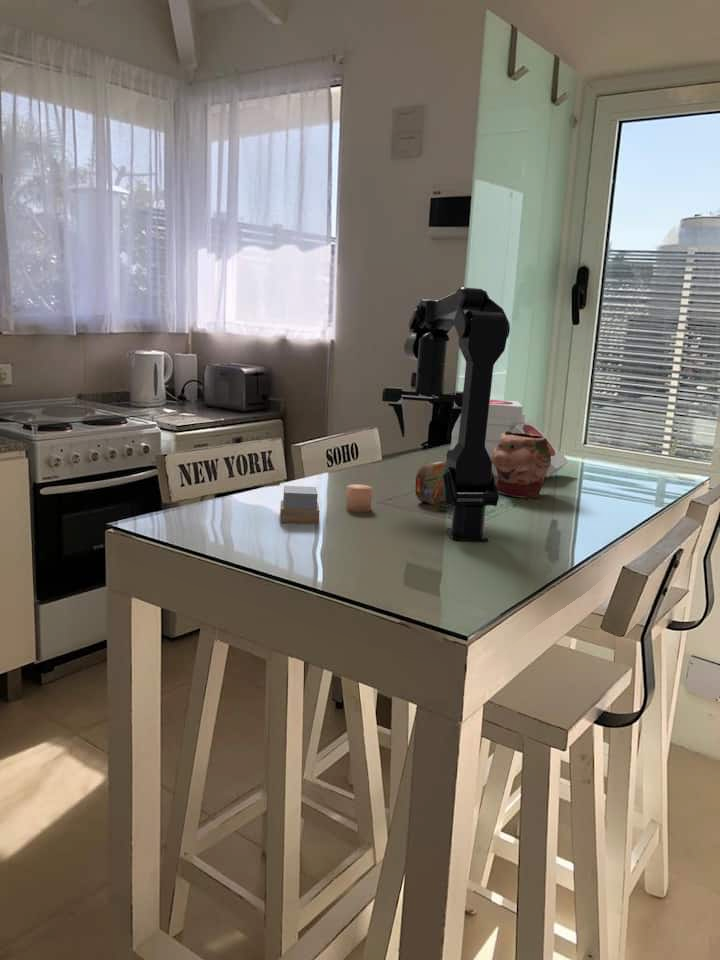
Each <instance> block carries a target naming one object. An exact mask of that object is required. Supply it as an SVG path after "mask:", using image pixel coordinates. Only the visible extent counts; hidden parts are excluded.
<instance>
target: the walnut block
mask: <svg viewBox="0 0 720 960" xmlns="http://www.w3.org/2000/svg"><path fill="white" fill-rule="evenodd" d="M279 512H280V513H279V517H280V518H279V519H280V520H279V522H281V523H280V524H285V523H297V524H296V525H312V524H316V525H317V526H319V525H320V506H319V502H318V501H317V510H302V509H284V505H283V500H282V499H281V500H280V511H279ZM302 523H303V524H302Z"/></svg>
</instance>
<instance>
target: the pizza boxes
mask: <svg viewBox="0 0 720 960" xmlns="http://www.w3.org/2000/svg"><path fill="white" fill-rule="evenodd" d="M523 408H524V406H523V405H522V404H521V403H520V402H519V401H517V400H514V401H513V400H503V399H502V400H501V399H491V398H490V403H489V412H488V422H487V431H486V440H485V448H486V450H487V452H488V454H489V456H490V458H491V461H492V457H491V455H492V451H493V449H494V448H495V447H496V446H497V445H498V444H499V442H500V436H501V434H503V433H505V432H507V431H509V432H512V433H523V434H531V435H539V436H543V437H545V438H546V439H547V444H548V448H549V450H550V454H551V463H550V467H549V469H548V471H547V473H546V476H545V477H546V478H549V477H550V476H552V475H553V474H555V473H557V472H558V471H560V470H561V469H562V468H564V466H566V465H567V464H568V463H569V460H568V459H567V458H566V456H564V454H563V453H561V452H560V450H559V449H558V448H557V447H556V446H555V445H554V444H553V443H552V442H551V441H550V440H549V438H548V437H546V436H545V434H544V433H543V432H542V431H540V430H539V428H538V427H537V426H536V425H535V424H534V423H533V422H532V421H531V420H528V421H526V422H525V420H526V415H525V414H523V410H524V409H523ZM460 419H461V414H460V416H459V418H458V419H457V421H456V423H455V426H454V428H453V431H452V437H451V449H450V450H453V449H454V447H455V446H456V445H457V443H458V438H459V429H460ZM492 472H493V476H496V477H497V470H496V468H495V466H494V464H493V462H492Z"/></svg>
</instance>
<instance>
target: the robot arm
mask: <svg viewBox="0 0 720 960" xmlns="http://www.w3.org/2000/svg"><path fill="white" fill-rule="evenodd" d="M410 318H411V319H410V321H409V323H408V327H409V329H408V332H409V333H413V334H411V335H409V336H408V337H407V338H406V340H405V342H404V345H403V349H404V353H405V356H407V357H408V358H409V359H410V360H414V361H417V362H416V363H417V364H416V366H417V367H416V372H411V378H410V389H412V390H415V391H410V390H405V388H404V387H402V386H387V387H385V388H383V390H382V395H381V396H382V397H381V398H382V399H381V401H382V402H387V403H388V404H387V405H388V406H389V407H392V408H393V411H394V413H395V416H396V419H397V420H398V424H399V428H400V432H401V437H402V438H405V435H406V418H405V416H406V414H405V405H406V404H405V401H419V402H420V401H421V402H434V403H448V404H453V406H452V408H451V409H452V411H451V414H450V419H449V424H448V429H447V432H446V433H447V434H446V441H449V440H450V439H451V435H452V434H453V428H454V426H455V423H456V421H457V419H458V418H459V416H460V414H461V419H460V429H459V438H458V443H457V445H456V446H455V447H454V449H453V450H451V449H448V450H447V452H446V460H445V461H446V467H445V469H444V472H443V475H442V479H443V496H444V501H443V503H445V504H447V505H451V506H453V507H452V520H451V527H446V528H445V532H446V533H447V534H448V535H449V536H450V538H451V540H455V541H471V542H472V541H473V542H475V541H476V542H489V537H488V536H487V535H486V533H484V529H485V528H484V527H485V517H486V506H493V507H496V506H497V505H498V501H499V498H500V495H499V494H500V493H499V492H498V491H497V487H496V480H495V477H494V476H495V475H493V472H492V461H491V458H490V456H489V454H488V452H487V450H486V448H485V440H486V431H487V422H488V412H489V403H490V399H491V395H492V393H491V392H492V383H493V374H494V366H495V363H496V362H497V361H498V360H499V358H500V357H501V356H502V354H503V353H504V351H505V349H506V346H507V340H508V338H509V336H510V331H511V327H510V326H511V325H510V321H509V319H508V317H507V315H506V312H505V310H504V309H503V307H501V306H500V305H499V304H497V303H496V302H495V301H493V300H492V299H491V298H490V297H489V294H488V293H487V290H483V288H475V287H464V286H463V287H461V288H458V289H457V290H456V291H455V292H452V293H451V294H449V295H447V296H444V297H442V298H441V299H420V301H419V303H418V304H417V305H416V307H415V309H414V311H413V313H412V316H411V317H410ZM452 327H454V328H455V331H456V332H457V335H458V348H459V350H460V351H461V353H462V356H463V359H464V360H465V369H464V371H465V372H464V380H463V381H464V382H463V391H458V390H457V391H455V393H454V394H452V393H451V394H450V393H444V392H445V382H446V381H445V373H446V372H445V371H446V361H447V348H448V342H449V341H450V337H449V335H448V333H449V332H450V331H451V328H452ZM404 400H405V401H404Z"/></svg>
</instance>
